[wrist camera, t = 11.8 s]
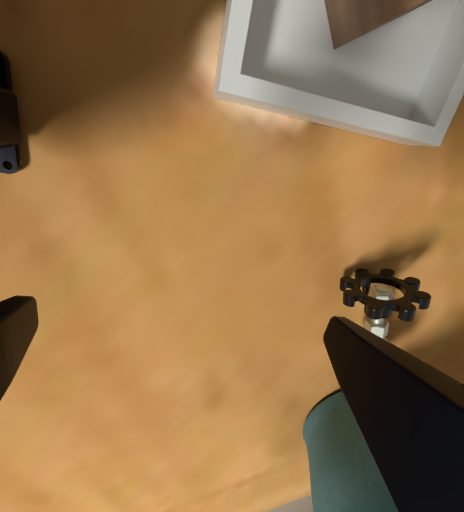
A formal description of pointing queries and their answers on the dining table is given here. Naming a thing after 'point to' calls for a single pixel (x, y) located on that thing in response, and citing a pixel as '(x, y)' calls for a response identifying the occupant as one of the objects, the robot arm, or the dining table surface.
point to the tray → (346, 68)
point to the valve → (383, 297)
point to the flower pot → (342, 462)
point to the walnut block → (363, 16)
